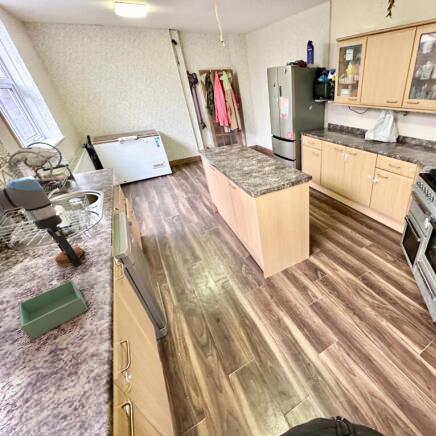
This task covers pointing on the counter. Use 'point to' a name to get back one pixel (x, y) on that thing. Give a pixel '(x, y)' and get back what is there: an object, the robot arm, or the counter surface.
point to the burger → (65, 261)
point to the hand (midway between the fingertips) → (73, 259)
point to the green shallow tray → (51, 309)
